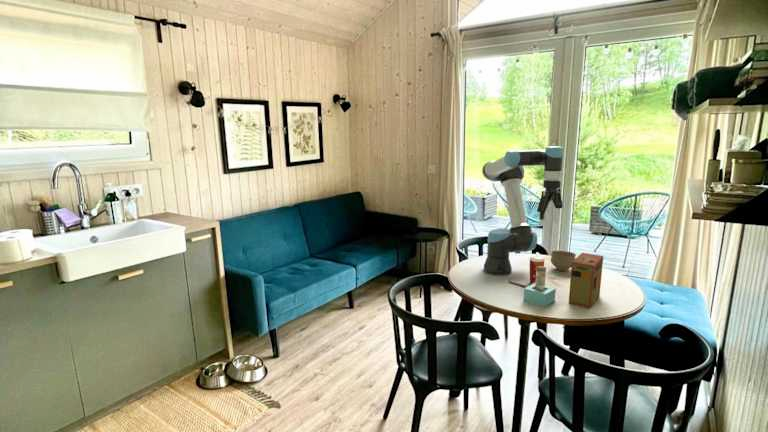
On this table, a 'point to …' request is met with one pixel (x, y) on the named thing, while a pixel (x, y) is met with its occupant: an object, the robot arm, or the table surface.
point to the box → (585, 280)
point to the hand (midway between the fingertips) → (549, 223)
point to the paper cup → (534, 262)
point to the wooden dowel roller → (540, 278)
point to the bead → (539, 295)
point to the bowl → (562, 259)
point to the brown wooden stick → (517, 284)
